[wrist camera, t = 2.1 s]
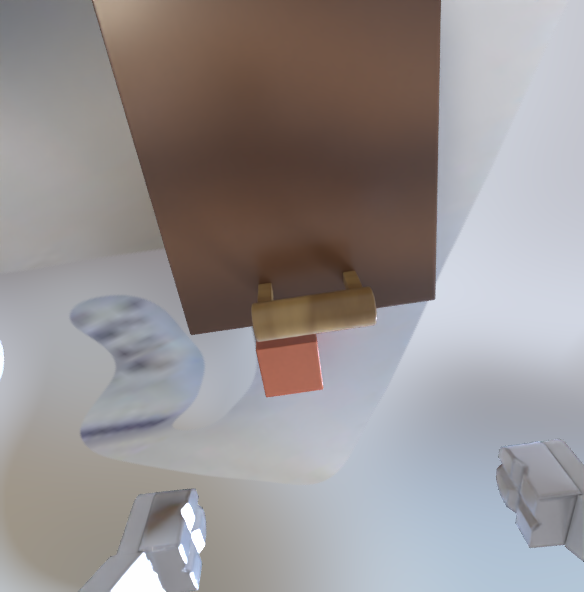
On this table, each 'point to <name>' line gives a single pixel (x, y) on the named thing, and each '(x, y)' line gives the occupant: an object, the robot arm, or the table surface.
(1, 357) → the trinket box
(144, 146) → the lid
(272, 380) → the block
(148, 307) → the table surface
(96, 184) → the table surface
